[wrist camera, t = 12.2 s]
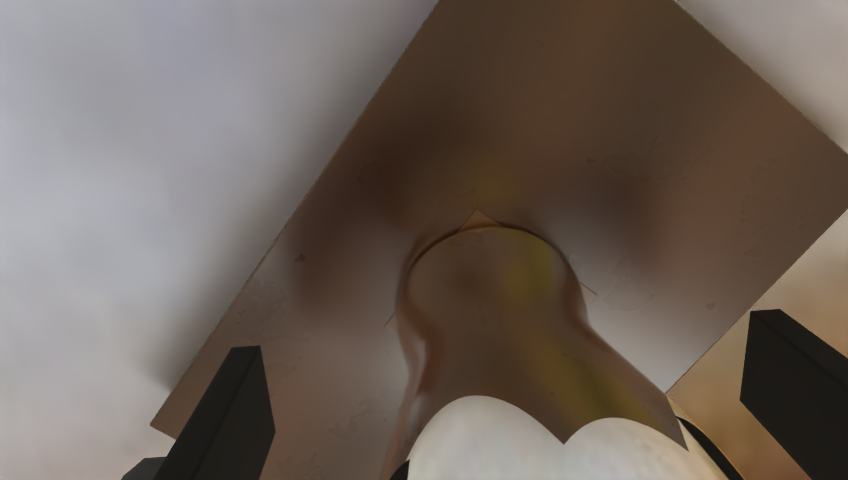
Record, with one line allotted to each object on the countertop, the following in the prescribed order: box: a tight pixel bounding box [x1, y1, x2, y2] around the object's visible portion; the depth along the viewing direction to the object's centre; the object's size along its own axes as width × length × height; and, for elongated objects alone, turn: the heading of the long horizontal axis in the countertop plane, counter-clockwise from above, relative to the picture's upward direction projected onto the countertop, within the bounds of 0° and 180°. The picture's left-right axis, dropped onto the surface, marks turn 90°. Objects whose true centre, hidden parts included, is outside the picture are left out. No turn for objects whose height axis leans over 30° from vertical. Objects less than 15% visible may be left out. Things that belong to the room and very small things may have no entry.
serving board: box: [150, 0, 848, 480], centre depth 20 cm, size 14×21×2 cm, turn 144°
